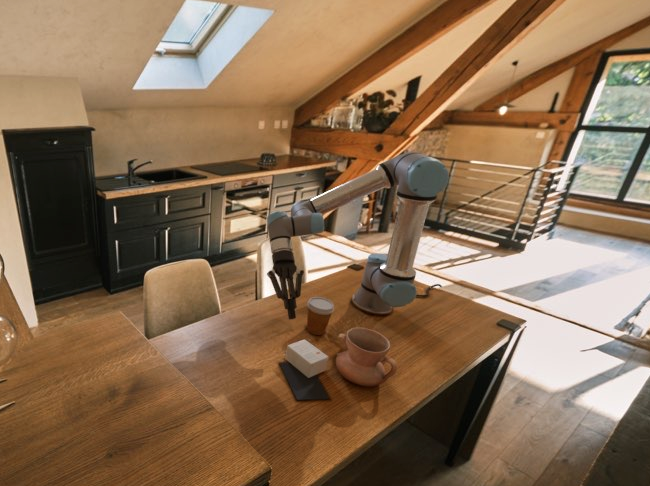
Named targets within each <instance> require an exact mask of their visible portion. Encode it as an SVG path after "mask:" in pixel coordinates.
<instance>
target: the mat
mask: <svg viewBox="0 0 650 486" xmlns="http://www.w3.org/2000/svg"><path fill="white" fill-rule="evenodd" d="M278 364H279V366H280V368H281V370H282V372H283V374H284V376H285V379H286V381H287V383H288V385H289V388H290V389H291V391H292V393H293V395H294V397H295V400H296V401H319V400H320V401H321V400H331V398H330V396H329V394H328V392H327V390H326V389H325V387H324V386H323V384H322V382H321V380H320V379H319V377H318V374H317V375H314V376H312V377H310V378H308V377H307V376H305V375H304V374H303V373H302V372H300V371H299V370H298V369H297V368H296V367H294V366H293V365H292V364H291V363H290V362H288V361H287V362H279V363H278Z"/></svg>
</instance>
